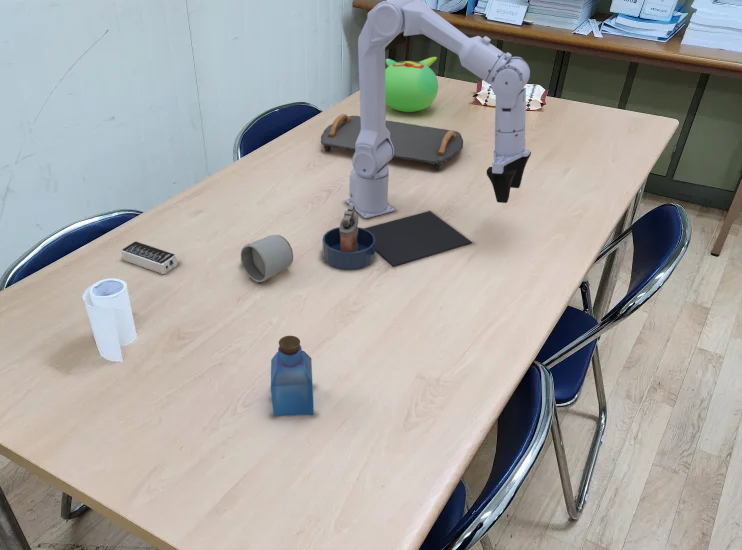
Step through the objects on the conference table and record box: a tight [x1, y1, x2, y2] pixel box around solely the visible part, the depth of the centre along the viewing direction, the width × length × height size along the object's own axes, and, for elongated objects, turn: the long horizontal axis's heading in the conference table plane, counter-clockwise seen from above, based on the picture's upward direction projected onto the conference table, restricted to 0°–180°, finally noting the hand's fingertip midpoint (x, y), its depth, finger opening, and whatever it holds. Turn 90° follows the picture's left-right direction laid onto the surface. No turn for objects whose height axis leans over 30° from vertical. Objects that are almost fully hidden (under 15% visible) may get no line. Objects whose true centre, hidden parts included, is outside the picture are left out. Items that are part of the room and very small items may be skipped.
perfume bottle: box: [270, 335, 315, 417], centre depth 97 cm, size 6×6×12 cm
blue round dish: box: [321, 226, 376, 271], centre depth 133 cm, size 11×11×4 cm
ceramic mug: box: [240, 234, 294, 283], centre depth 127 cm, size 11×8×8 cm
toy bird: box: [385, 56, 439, 113], centre depth 194 cm, size 18×17×15 cm
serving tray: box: [320, 113, 464, 172], centre depth 175 cm, size 39×23×6 cm, turn 69°
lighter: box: [339, 205, 360, 252], centre depth 131 cm, size 8×3×10 cm, turn 168°
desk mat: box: [364, 210, 473, 268], centre depth 140 cm, size 16×20×1 cm
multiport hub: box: [120, 240, 178, 275], centre depth 130 cm, size 4×11×2 cm, turn 62°
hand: (508, 194), depth 133 cm, fingers open, 7 cm apart
